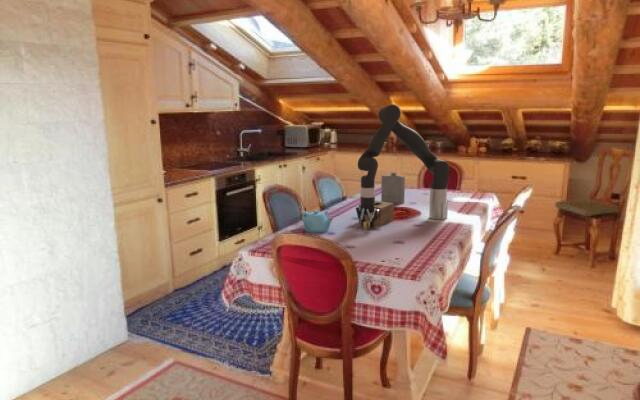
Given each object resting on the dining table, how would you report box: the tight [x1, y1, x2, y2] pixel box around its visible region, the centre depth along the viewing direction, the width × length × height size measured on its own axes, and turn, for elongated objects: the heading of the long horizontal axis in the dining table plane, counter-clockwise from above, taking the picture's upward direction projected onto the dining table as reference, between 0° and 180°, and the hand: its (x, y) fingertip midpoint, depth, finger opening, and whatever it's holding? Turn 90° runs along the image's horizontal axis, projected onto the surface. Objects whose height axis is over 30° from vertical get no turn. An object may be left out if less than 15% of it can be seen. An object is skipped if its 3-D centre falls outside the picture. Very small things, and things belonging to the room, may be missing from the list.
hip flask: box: [380, 171, 406, 205], centre depth 314 cm, size 16×4×20 cm, turn 60°
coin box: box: [358, 200, 395, 227], centre depth 267 cm, size 14×14×10 cm
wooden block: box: [362, 220, 371, 231], centre depth 253 cm, size 2×5×4 cm, turn 141°
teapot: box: [301, 209, 333, 234], centre depth 252 cm, size 15×15×11 cm
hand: (367, 227), depth 254 cm, fingers open, 4 cm apart
